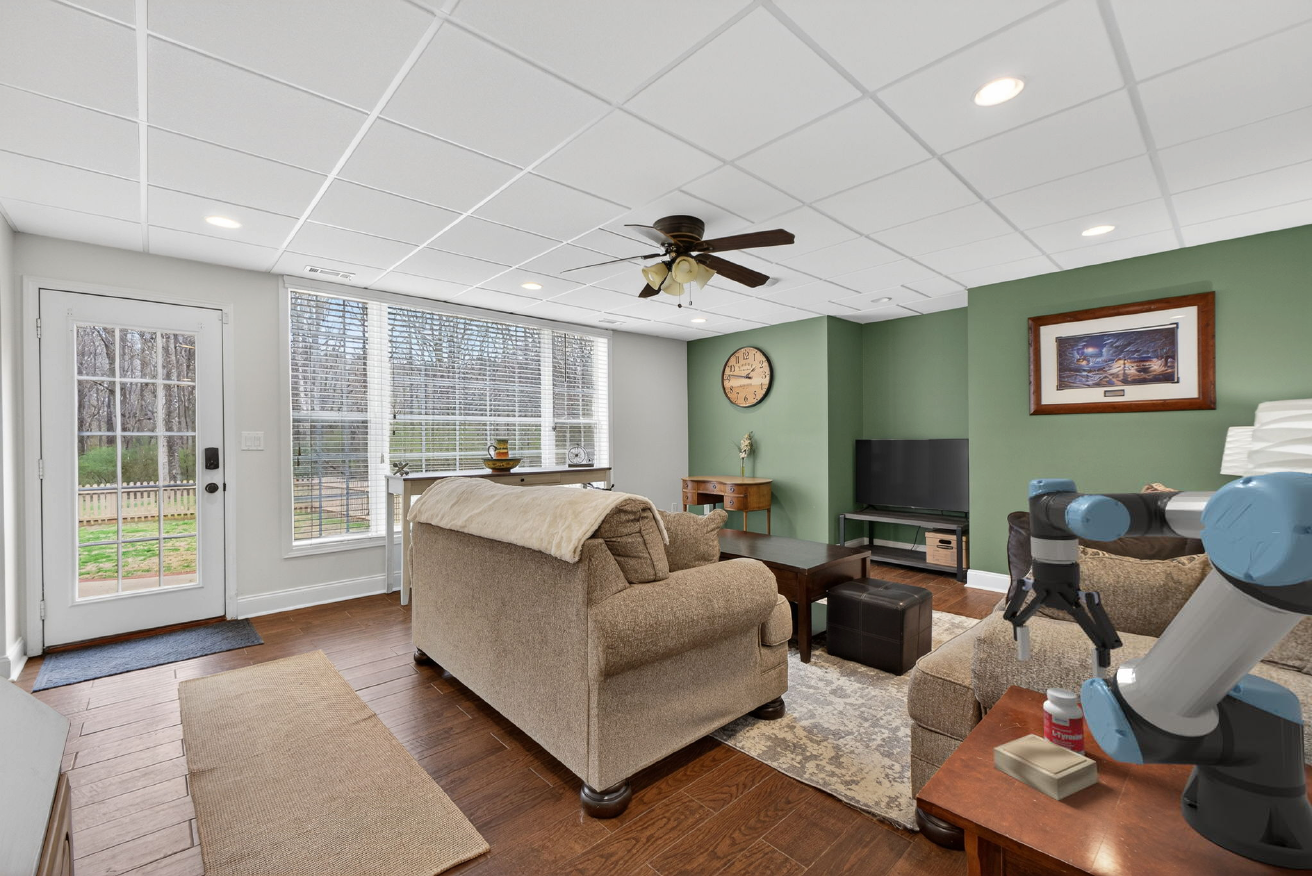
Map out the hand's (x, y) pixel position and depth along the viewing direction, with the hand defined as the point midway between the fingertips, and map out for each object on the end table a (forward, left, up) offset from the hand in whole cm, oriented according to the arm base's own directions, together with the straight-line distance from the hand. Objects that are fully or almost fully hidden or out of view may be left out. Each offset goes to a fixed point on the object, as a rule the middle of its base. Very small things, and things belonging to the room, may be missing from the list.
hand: (1059, 670), depth 109 cm
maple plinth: (-3, +11, -15) cm, 19 cm away
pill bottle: (0, 0, -15) cm, 15 cm away
